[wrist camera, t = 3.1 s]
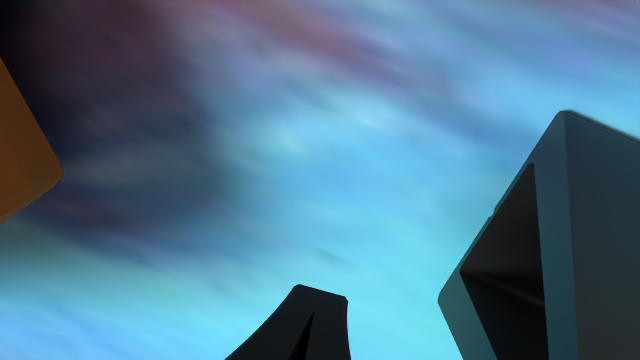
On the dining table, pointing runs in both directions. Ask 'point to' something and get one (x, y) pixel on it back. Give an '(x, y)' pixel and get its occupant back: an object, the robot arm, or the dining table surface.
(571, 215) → the phone stand
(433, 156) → the dining table surface
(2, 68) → the orange tape measure
